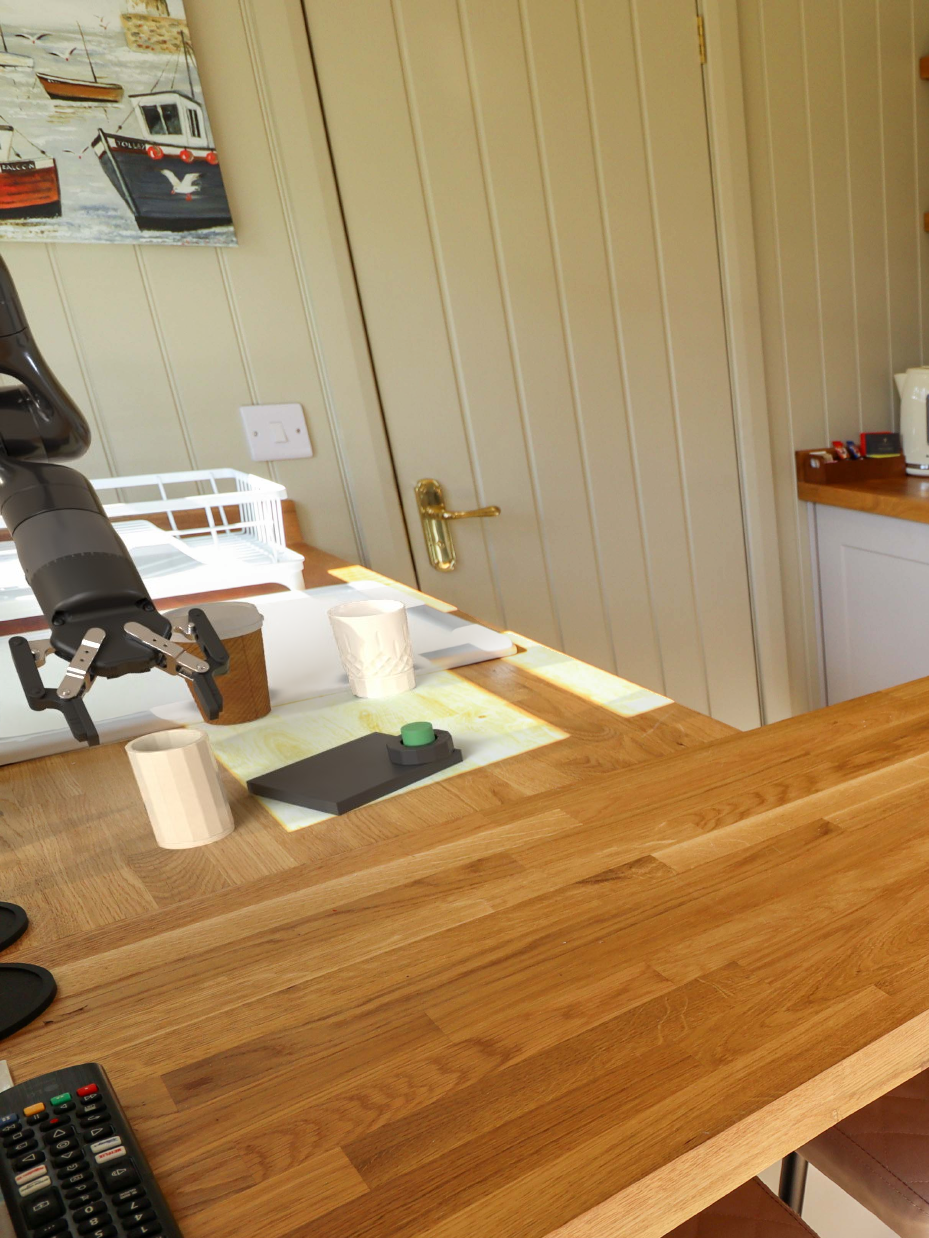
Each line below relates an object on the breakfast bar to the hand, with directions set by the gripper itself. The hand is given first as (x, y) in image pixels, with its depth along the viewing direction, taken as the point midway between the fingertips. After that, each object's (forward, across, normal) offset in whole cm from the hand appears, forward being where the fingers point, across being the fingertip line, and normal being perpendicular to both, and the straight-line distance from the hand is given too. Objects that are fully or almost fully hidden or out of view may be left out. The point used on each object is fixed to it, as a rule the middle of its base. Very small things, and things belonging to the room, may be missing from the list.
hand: (156, 728), depth 94 cm
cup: (+9, 0, +4) cm, 10 cm away
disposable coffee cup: (-13, +11, +26) cm, 31 cm away
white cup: (-11, +26, +25) cm, 37 cm away
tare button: (+6, +20, +3) cm, 21 cm away
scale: (+7, +14, +6) cm, 17 cm away
